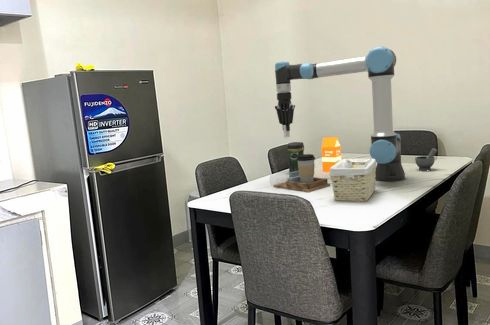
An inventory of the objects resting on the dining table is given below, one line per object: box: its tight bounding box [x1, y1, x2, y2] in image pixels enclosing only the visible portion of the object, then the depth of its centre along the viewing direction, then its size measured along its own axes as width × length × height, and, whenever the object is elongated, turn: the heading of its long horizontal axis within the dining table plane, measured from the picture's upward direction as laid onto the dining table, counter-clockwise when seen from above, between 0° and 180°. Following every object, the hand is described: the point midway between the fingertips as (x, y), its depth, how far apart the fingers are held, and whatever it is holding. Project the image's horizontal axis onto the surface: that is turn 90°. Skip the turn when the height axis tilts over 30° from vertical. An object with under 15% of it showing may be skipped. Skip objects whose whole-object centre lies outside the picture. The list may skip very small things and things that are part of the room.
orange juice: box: [320, 136, 342, 173], centre depth 252 cm, size 8×9×20 cm
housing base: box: [273, 176, 331, 193], centre depth 216 cm, size 24×16×4 cm, turn 40°
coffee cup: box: [296, 153, 316, 184], centre depth 212 cm, size 9×9×15 cm
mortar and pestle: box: [414, 147, 438, 172], centre depth 231 cm, size 11×9×12 cm
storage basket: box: [329, 158, 377, 202], centre depth 189 cm, size 24×16×15 cm
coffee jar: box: [287, 141, 305, 174], centre depth 253 cm, size 10×8×19 cm
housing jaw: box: [286, 170, 301, 183], centre depth 218 cm, size 3×11×6 cm, turn 130°
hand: (286, 137), depth 226 cm, fingers closed
